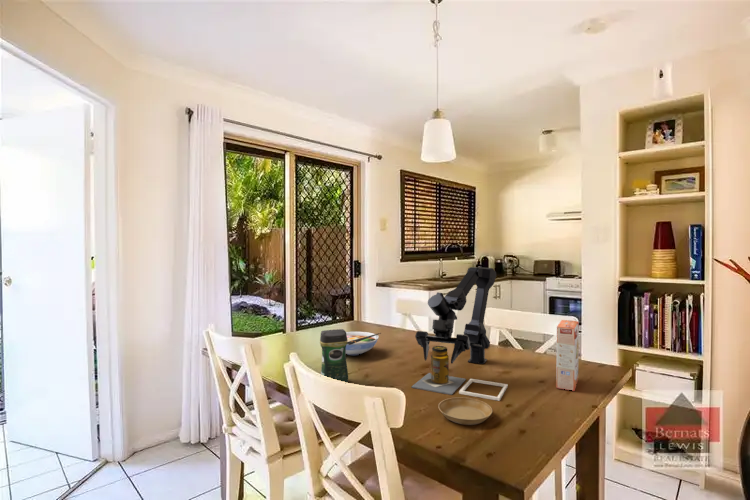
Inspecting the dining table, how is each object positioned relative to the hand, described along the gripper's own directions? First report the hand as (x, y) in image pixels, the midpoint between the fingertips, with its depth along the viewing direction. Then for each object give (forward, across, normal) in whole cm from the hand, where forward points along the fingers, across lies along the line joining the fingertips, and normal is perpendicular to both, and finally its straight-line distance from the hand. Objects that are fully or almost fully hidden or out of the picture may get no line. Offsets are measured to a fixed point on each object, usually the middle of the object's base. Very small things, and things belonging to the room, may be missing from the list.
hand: (438, 361), depth 133 cm
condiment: (+4, -1, +7) cm, 8 cm away
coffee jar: (+14, -34, -2) cm, 37 cm away
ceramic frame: (+5, +15, +6) cm, 17 cm away
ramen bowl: (-11, -45, +23) cm, 52 cm away
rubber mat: (+5, 0, +7) cm, 8 cm away
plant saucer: (+21, +13, -9) cm, 26 cm away
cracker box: (-7, +41, +19) cm, 45 cm away
